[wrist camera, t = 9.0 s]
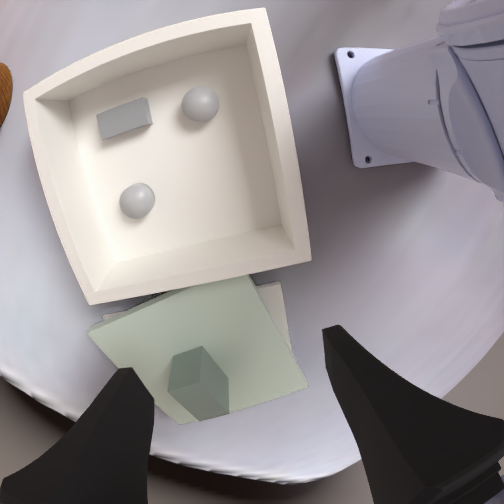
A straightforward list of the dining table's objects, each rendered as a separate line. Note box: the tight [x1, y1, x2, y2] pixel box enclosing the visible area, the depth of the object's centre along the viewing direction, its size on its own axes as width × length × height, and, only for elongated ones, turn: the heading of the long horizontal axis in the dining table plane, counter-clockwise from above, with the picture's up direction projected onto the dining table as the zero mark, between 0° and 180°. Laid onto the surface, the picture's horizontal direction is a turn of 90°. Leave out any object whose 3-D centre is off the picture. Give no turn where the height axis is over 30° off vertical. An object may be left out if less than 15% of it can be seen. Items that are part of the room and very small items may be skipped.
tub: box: [23, 8, 312, 305], centre depth 14 cm, size 13×13×4 cm
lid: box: [87, 274, 309, 425], centre depth 20 cm, size 13×13×5 cm
